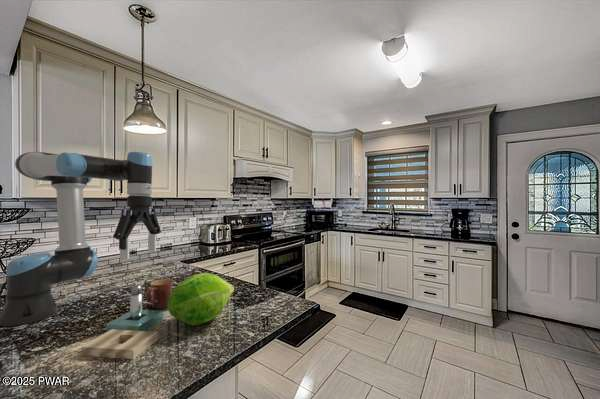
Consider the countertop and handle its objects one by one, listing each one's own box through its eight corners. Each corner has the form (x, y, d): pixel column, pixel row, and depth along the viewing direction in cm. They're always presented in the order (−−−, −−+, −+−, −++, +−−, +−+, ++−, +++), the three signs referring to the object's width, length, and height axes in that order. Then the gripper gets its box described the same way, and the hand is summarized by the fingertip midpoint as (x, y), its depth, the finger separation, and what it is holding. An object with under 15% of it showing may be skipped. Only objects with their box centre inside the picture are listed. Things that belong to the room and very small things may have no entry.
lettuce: (247, 316, 96) (247, 271, 96) (179, 344, 77) (179, 288, 78) (220, 303, 109) (220, 263, 109) (157, 325, 90) (157, 276, 90)
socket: (106, 333, 84) (106, 324, 84) (133, 317, 96) (133, 309, 96) (139, 335, 83) (139, 326, 83) (163, 318, 95) (163, 310, 95)
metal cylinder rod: (127, 327, 88) (127, 287, 88) (135, 323, 92) (135, 284, 92) (137, 328, 88) (137, 287, 88) (144, 323, 91) (144, 284, 91)
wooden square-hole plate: (81, 355, 72) (81, 346, 72) (111, 337, 82) (111, 329, 82) (133, 359, 70) (133, 350, 70) (157, 339, 80) (157, 331, 80)
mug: (160, 301, 111) (160, 278, 112) (178, 303, 110) (178, 279, 110) (138, 313, 100) (138, 287, 100) (157, 315, 98) (157, 288, 98)
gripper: (122, 194, 79) (121, 263, 78) (170, 196, 103) (170, 248, 103) (99, 194, 79) (99, 262, 79) (153, 196, 104) (152, 248, 104)
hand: (139, 254), depth 91 cm, fingers open, 13 cm apart
